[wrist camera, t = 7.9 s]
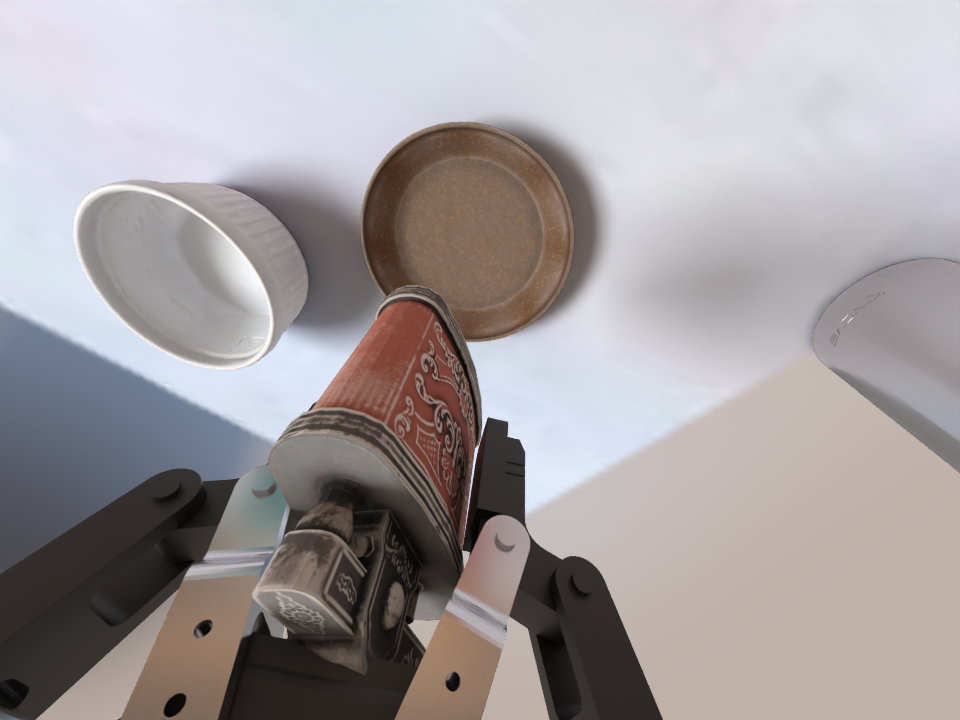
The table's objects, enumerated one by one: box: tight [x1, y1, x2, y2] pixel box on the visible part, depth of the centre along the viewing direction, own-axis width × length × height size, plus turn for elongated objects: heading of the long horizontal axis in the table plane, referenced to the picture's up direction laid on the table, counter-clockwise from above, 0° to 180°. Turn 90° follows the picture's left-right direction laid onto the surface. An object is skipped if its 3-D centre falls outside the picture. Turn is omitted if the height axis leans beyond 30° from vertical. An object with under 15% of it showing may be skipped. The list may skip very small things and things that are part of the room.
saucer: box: [361, 122, 574, 342], centre depth 25 cm, size 15×15×3 cm
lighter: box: [252, 285, 482, 675], centre depth 11 cm, size 8×3×10 cm, turn 12°
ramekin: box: [73, 180, 308, 370], centre depth 26 cm, size 13×13×7 cm
